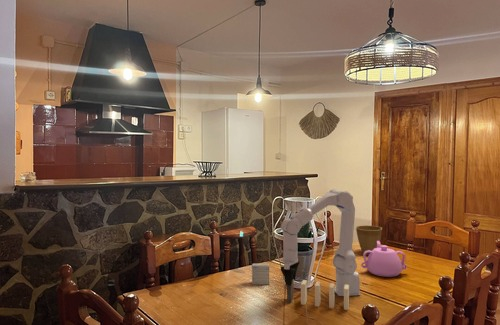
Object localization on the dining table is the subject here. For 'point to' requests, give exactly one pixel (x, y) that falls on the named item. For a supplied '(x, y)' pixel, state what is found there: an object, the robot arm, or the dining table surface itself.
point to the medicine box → (260, 274)
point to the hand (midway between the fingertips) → (290, 282)
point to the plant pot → (368, 237)
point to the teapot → (384, 261)
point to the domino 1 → (290, 292)
